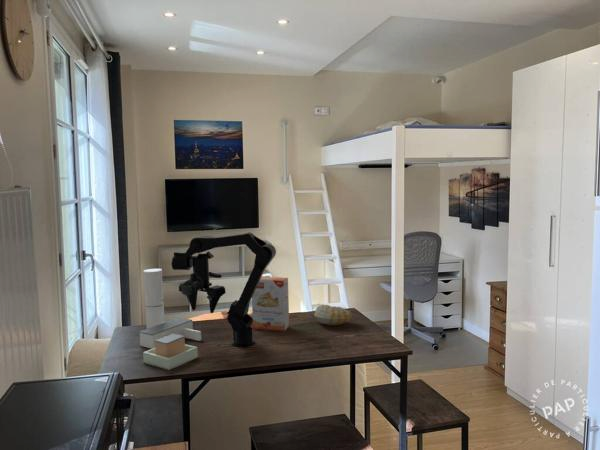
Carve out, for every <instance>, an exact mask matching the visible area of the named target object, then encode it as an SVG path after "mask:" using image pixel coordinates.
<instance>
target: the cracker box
mask: <svg viewBox="0 0 600 450" xmlns="http://www.w3.org/2000/svg"><path fill="white" fill-rule="evenodd" d="M289 299H290V298H289V277H281V276H280V277H279V276H277V277H276V276H262V277H261V279H260V281H259V283H258V285H257V287H256V290H255V292H254V294H253V296H252V298H251V309H252V310H251V311H252V315H251V318H252V319H253V322H252V330H253V329H254V330H255V329H257V330H267V331H269V330H270V331H279V332H285V331H286V330H288V328H289V327H290V304H289Z"/></svg>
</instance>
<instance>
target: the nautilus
mask: <svg viewBox="0 0 600 450" xmlns="http://www.w3.org/2000/svg"><path fill="white" fill-rule="evenodd" d="M313 315H314V317H315V319H316V320H317V322H319V323H320V324H324V325H327V326H338V325H342V324H343V325H344V324H345V323H348V322H350V321H351V320H352V319H353V314H352V312H351V311H350V310H347V309H345V308H343V307H341V306H335V305H334V306H331V305H329V304H320V303H319V302H318V303H317V306H316V308H315V311H314V314H313Z"/></svg>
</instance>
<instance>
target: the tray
mask: <svg viewBox="0 0 600 450" xmlns="http://www.w3.org/2000/svg"><path fill="white" fill-rule="evenodd" d="M198 353H199V352H198V346H195V345H190V344H186V343H185V351H184V352H182V353H180V354H178V355H175V356H173V357H171V358H167V357H163V356H160V355H156V347H155V348H153V349H151V348H149V349H148V350H146V351H143V352H142V355H143V357H142V358H143V363H144V364H147V365H150V366H154V367H156V368H157V367H158V368H161V369H164V370H168V371H171V370H173V369H176V368H177V367H181V366H182V365H184V364H186V363H189V362H191V361H193V360H195V359H197V358H198Z"/></svg>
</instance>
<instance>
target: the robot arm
mask: <svg viewBox="0 0 600 450" xmlns="http://www.w3.org/2000/svg"><path fill="white" fill-rule="evenodd" d="M241 245H245V246H246V247H247V248H248V249H249V250H250V251H251V252H252V253H253V254H254V255H255V258H254V261H253V262H254V264H253V267H252V270H251V272H250V274H249V277H248V279H247V281H246V283H245V286H244V288H243V289H242V292H241V294H240V297H239V298H238V299H236V300H234V301H233V302H232V303H231V304H230V306H229V310H228V311H227V312H226V315H227V316H226V319H227V323H229V325H230V326H231V328H232V331H233V333H232V335H233V338H232V339H233V342H231V346H235V347H238V348H244V349H245V348H247V347H249V346H251V345H253V344H255V343H256V340H253V327H251V326H253V317H252V316H250V314H248V313H249V310H250V303H251V301H252V296H253V294H254V292H255V290H256V287H257V285H258V283H259V281H260V279H261V277H263V274H264V272H265V270H266V268H267V267H268V266H269V265H270V263H271V262H272V261H273V259H274V258H275V257H276V255H277V250H276V247H275V246H274V245H273V244H271V243H267V242H265V241H264V239H261V238H259V237H257V236H256V235H255V234H253V233H252V232H246V233H240V234H239V233H238V234H230V235H223V236H222V235H221V236H211V235H200V236H197V237H194V238H192V239H191V240H190V242H189V247H188V248H187V250H186V251H184V252H183V251H175V252H173V256H172V258H171V268H172V271H173V270H174V271H190V270H191V268H192V273H190V276H189V277H190V278H189V279H187V280H186V281H184V282H182V283H179V286H178V292H180V293H181V294H182V295H184V296H186V298H187V299H188V302H189V304H190V307H191V310H192V311H195V310H196V307H197V300H198V292H202V293H203V292H204V293H206V295H207V296H206V298H207V299H208V302H209V313H210V314H214V312H215V310H216V307H217V305H218V303H219V301H220V298H221V297H222V296H223V295H225V294H226V287H225V286H223V285H218V284H217V285H213V284H212V282H210V276H211V275H212V272H211V271H210V270H209V269H210V267H209V266H210V263H209V260H211V259H213V258H214V257H215V255H214V254H212V253H211V251H209V250H212V249H216V248H225V247H233V246H241ZM203 252H206V253H203ZM196 254H197V255H196Z"/></svg>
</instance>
